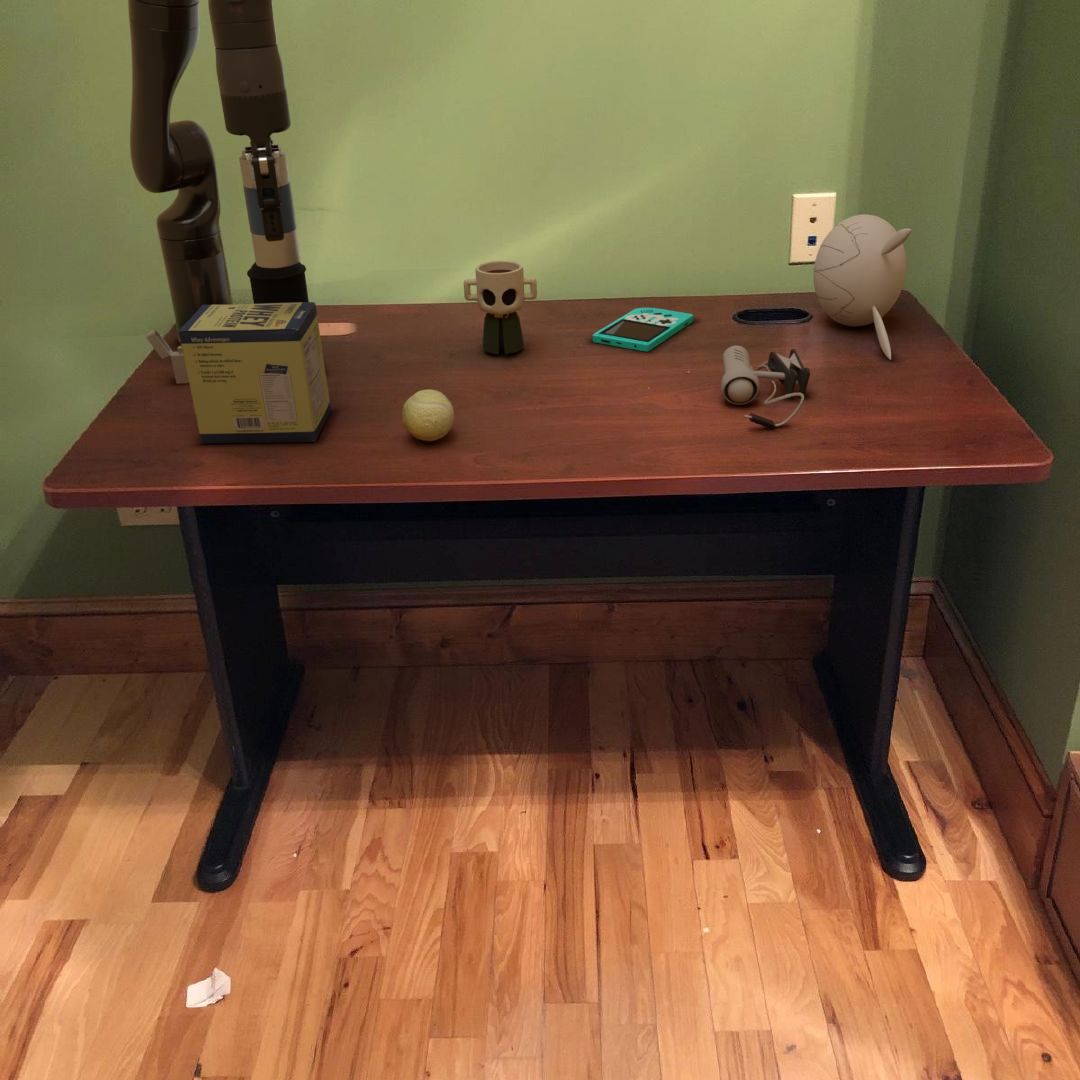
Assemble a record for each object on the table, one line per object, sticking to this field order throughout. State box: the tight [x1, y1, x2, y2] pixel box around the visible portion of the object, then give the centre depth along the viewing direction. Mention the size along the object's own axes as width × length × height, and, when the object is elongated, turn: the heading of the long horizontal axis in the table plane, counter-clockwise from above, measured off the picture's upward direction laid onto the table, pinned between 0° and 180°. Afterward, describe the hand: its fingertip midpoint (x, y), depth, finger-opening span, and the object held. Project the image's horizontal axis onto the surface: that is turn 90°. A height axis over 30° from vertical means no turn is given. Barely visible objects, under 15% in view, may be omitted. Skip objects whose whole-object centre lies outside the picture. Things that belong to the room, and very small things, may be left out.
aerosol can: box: [246, 261, 310, 304], centre depth 164 cm, size 8×8×20 cm
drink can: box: [238, 147, 302, 268], centre depth 139 cm, size 6×6×13 cm
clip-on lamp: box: [720, 345, 811, 430], centre depth 152 cm, size 12×6×18 cm
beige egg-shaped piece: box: [813, 214, 913, 361], centre depth 173 cm, size 19×14×25 cm
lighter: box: [145, 328, 189, 385], centre depth 166 cm, size 7×2×8 cm, turn 94°
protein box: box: [177, 301, 332, 445], centre depth 149 cm, size 10×16×16 cm
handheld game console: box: [592, 307, 694, 353], centre depth 180 cm, size 10×16×1 cm, turn 148°
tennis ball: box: [401, 389, 455, 442], centre depth 146 cm, size 6×7×7 cm
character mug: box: [463, 259, 538, 355], centre depth 172 cm, size 11×7×13 cm, turn 87°
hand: (274, 233), depth 141 cm, fingers closed on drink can, 5 cm apart
